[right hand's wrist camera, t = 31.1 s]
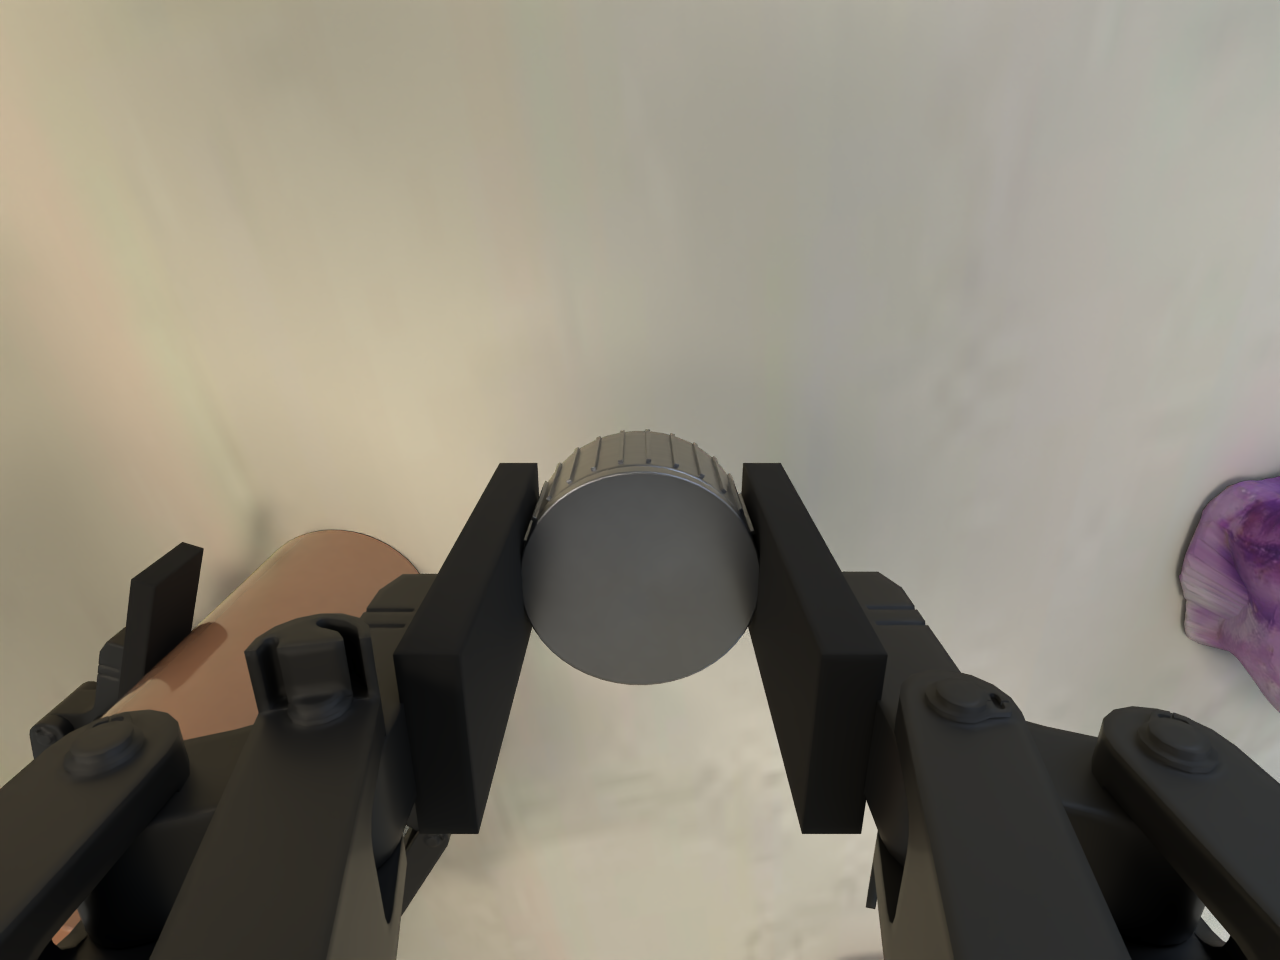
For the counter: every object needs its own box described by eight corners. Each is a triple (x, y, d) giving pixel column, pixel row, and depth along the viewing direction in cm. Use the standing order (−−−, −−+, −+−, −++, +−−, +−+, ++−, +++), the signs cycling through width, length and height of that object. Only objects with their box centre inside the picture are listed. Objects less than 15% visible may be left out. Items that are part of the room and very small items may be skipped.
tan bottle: (308, 696, 34) (-195, 1436, 14) (226, 556, 31) (-561, 1221, 11) (460, 656, 33) (171, 1382, 13) (390, 509, 31) (-125, 1134, 10)
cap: (744, 615, 15) (762, 683, 13) (544, 623, 15) (528, 692, 13) (746, 422, 14) (767, 462, 11) (524, 431, 14) (502, 473, 11)
